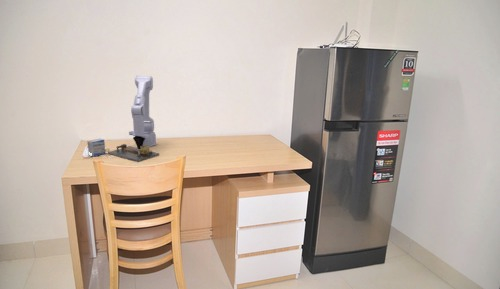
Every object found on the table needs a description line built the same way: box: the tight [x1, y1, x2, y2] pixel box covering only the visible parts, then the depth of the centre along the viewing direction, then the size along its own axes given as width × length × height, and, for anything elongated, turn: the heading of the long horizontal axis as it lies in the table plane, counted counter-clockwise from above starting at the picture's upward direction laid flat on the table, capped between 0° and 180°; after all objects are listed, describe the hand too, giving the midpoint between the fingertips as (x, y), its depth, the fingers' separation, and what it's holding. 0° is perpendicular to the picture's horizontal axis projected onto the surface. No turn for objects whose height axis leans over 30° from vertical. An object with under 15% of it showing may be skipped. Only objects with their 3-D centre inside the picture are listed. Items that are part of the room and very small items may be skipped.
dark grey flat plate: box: [107, 145, 160, 163], centre depth 191 cm, size 16×25×1 cm, turn 61°
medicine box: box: [86, 138, 106, 158], centre depth 186 cm, size 8×4×9 cm, turn 149°
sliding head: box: [138, 145, 151, 156], centre depth 186 cm, size 7×3×5 cm, turn 151°
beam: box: [116, 143, 153, 156], centre depth 189 cm, size 6×23×3 cm, turn 61°
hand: (139, 148), depth 189 cm, fingers closed
